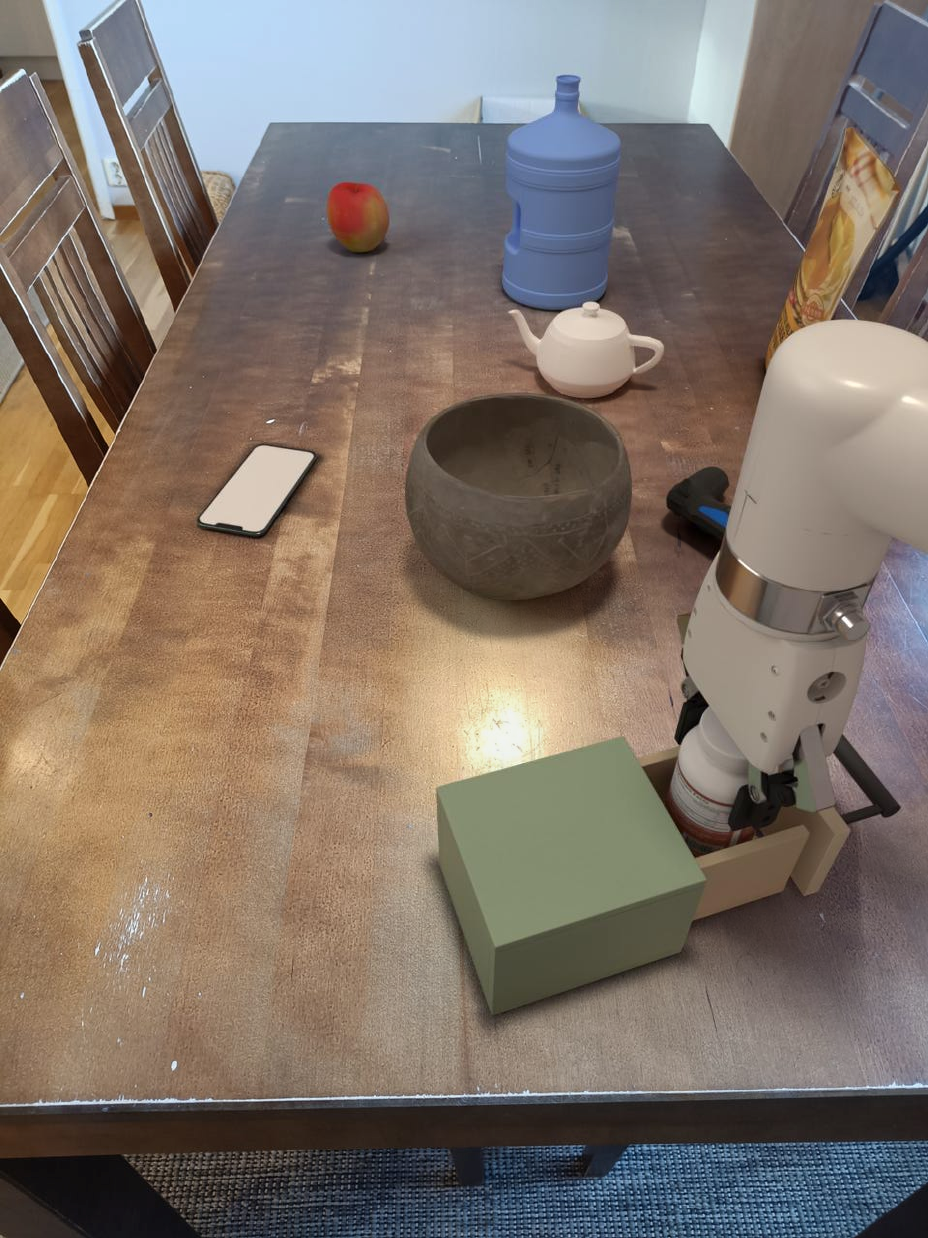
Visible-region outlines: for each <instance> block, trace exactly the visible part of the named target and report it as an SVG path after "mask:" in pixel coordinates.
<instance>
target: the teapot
mask: <svg viewBox="0 0 928 1238" xmlns="http://www.w3.org/2000/svg"><path fill="white" fill-rule="evenodd" d="M507 313H508V314H509V315H510V316H511V317H512V318H513V320H514V321H515V323H516V325H517V327H518V329H519V333H520V336H521V338H522V340H523V342H524V344H525V346H526V348H527V349H528V351H529V352H530V353H531V354H532V355H533V356H535V357H536V365H537V368H538V371H539V372H540V375H541V376H542V378H543V379H544V380H545V381H546V382H547V383H548V384H549V385H550V386H551V388H553V389H554V390H555V391H557V392H558V393H560V394H561V395H565V396H569V397H572V398H577V399H595V398H601V397H604V396H608V395H610V394H613V393H614V392H615V391H616V390H617V389H618V388H619V389H620V388H621V387H622V386H623V385H624V384H625V383H626V382H628V381H629V380H630V378H631V376H632V375H641V374H643V373H645V372H648V371H650V370H651V369H652V368H654V367H655V366H657V365H658V364H659V363H660V362H661V360H662V359H663V356H664V354H665V345H664V344H663V342H662V341H661V340H659V339H656V338H653V337H651V336H646V335H638V334H632V333H631V332H630V330H629V327H628V325H627V323H626V321H625V319H624V318H623V317H622V316H620V315H619V314H617V313H616V312H613V311H611V310H609V309H605V308H601V306H600V304H599V303H598V302H596V301H595V302H586V303H584V304H583V305H582V307H579V308H572V309H568V310H562V311H561V312H560V313H557V314H556V315H555V316H554V318H553V319H552V320H551V321H550V323H549V324H548V326H547V328H546V330H545V332H544V333H543V336H542V338H541V339H540V338H538V337H537V335H536V336H535V334H533V333H532V331H531V329H530V327H529V325H528V322H527V320H526V318H525V316H524V315H523V314H522V312H521V310H520V309H512V310H509V311H507ZM634 347H640V348H648V349H650V350H653V351H654V356H652V357H651V359H649V360H647V361H646V362H644V363H643V364H641V365H640V366H639V365H638V366H636V353H635V348H634Z"/></svg>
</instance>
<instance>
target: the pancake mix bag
mask: <svg viewBox="0 0 928 1238" xmlns="http://www.w3.org/2000/svg"><path fill="white" fill-rule="evenodd" d="M901 192H902V190H901V187H900V185H899V183H898V181H897V179H896V176H895V174H894V173H893V171H892V169H890V167H889V165H887V163H885V162H884V161H883V159H882V158H881V157H880V155H879V153H878V152H877V150H876V149H875V147H873V145H872V144H871V143H870V142H869V141H868V140H867V139H865V137H864V135H862V134H861V133H860V132H859V131H858V130H857V129H856V128H855V127H854V126H848V127H846V128H843V135H842V140H841V145H840V149H839V153H838V156H837V159H836V162H835V166H834V169H833V172H832V174H831V178H830V181H829V184H828V187H827V190H826V193H825V196H824V199H823V202H822V204H821V208H820V210H819V214H818V217H817V221H816V225H815V227H814V230H813V231H812V234H811V236H810V238H809V241H808V243H807V245H806V247H805V250H804V253H803V254H802V256H801V260H800V262H799V264H798V268H797V269H796V272H795V276H794V279H793V281H792V284H791V288H790V290H789V291H788V295H787V298H786V300H785V303H784V306H783V308H782V311H781V314H780V316H779V319H778V321H777V325H776V327H775V329H774V332H773V335H772V337H771V339H770V341H769V345H768V347H767V351H766V356H765V372H767V369H768V366H769V363H770V360H771V358H772V357H773V355H774V353H775V351H776V350H777V348H778V347H779V346H780V344H781V343H782V342H783V341H784V340H785V339H786V338H787V337H789V336H790V335H791V334H792V333H794V332H796V331H797V330H799V329H801V328H804V327H807V326H809V325H812V324H815V323H819V322H823V321H830V320H836V315H837V314H836V313H837V308H838V306H839V304H840V302H841V300H842V298H843V296H844V294H845V293H846V292H847V290H848V288H849V286H850V284H851V281H852V280H853V277H854V275H855V273H856V271H857V269H858V268H859V266H860V264H861V262H862V260H863V258H864V256H865V254H866V253H867V252H868V249H869V248H870V246H871V244H872V243H873V241H874V239H875V238H876V237H877V235H878V233H879V232H880V230H881V229H882V227H883V226H884V224H885V222H886V220H887V219H888V217H889V215H890V214H891V213H892V211H893V210H894V209H895V207H896V206H897V203H898V200H899V198H900V195H901Z"/></svg>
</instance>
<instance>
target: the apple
mask: <svg viewBox="0 0 928 1238" xmlns="http://www.w3.org/2000/svg"><path fill="white" fill-rule="evenodd" d="M326 215H327V222H328V225H329V228H330V230H331V232H332V235H334V237H335V238H336V240H338V242H339V243H340V244H341V245H342V246H344V247H345V248H346V249H347V250H348V251H349V252H352V253H367V252H370V251H372V250H373V249H375V248H377V247H378V246H379V245H380V243H382V241H383V240H384V239H385V237H386V235H387V234H388V231H389V226H390V213H389V209H388V205H387V203H386V201H385V198H384V196H383V195H382V193H381V192H380V191H379V190H378V189H377V188H376V187H375V186H373V185H372V184H369V183H361V182H352V181H344V182H339V183H337V184H335V185H334V186H333V187H332V188H331V190H330V191H329V194H328V197H327V204H326Z"/></svg>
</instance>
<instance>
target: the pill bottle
mask: <svg viewBox="0 0 928 1238" xmlns="http://www.w3.org/2000/svg"><path fill="white" fill-rule="evenodd" d="M679 746H680V749H679V753H678V757H677V761H676V765H675V768H674V772H673V776H672V780H671V784H670V787H669V791H668V795H667V799H666V802H665V808H666V810H667V811H668V813H669V815H670V816H671V818H672V820H673V822H674V823H675V825H676V827H677V829H678V830H679V832H680V834H681V836H682V837H683V839H684V841H685V842H686V844H687V846H688V848H689V849H690V851H691V853H692V855H693V856H694V858H697V857H700V856H703V855H707V854H710V853H713V852H716V851H719V850H723V849H726V848H729V847H732V846H735V845H739V844H742V843H745V842H748V841H751V840H752V839H753V837H754V838H755V835H756V831H757V829H753V827H752V826H751V827H748V828H744V829H741V830H738V831H732V830H731V828H730V827H729V825H728V818H729V815H730V812H731V809H732V807H733V804H734V801H735V798H736V796H737V793H738V790H739V788H740V787H742V786H744V785H747V784H748V760H747V758H746V757H745V756H744V754H743V753H742V752H741V750H740V749H739V748H738V746H737V745H736V743H735V742H734V741H733V739H732V738H731V736H730V735H729V733H728V732H727V731H726V729H725V728H724V726H723V725H722V723H721V722H720V720H719V719H718V718H717V716H716V715H715V713H714V712H713V710H712V709H711V707H710V706H709V707H708V708H707V709H706V710H705V711H704V713H703V714H702V717H701V720H700V722H699V724H698V725H697V726H695V727H694V728H693V729H691V730H690V731H689V732H688V733H687V735H686V736H685V737H684V739H683V741H682V743H681V745H679ZM775 773H778V765H777V766H776V768H775V770H774V771H773V772H772V773H771V774H775ZM771 774H768V775H771Z"/></svg>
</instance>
